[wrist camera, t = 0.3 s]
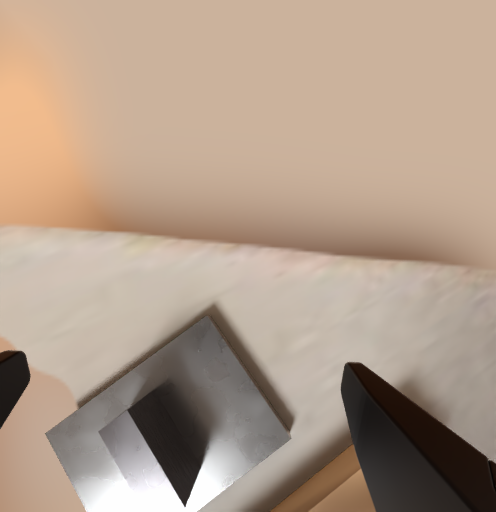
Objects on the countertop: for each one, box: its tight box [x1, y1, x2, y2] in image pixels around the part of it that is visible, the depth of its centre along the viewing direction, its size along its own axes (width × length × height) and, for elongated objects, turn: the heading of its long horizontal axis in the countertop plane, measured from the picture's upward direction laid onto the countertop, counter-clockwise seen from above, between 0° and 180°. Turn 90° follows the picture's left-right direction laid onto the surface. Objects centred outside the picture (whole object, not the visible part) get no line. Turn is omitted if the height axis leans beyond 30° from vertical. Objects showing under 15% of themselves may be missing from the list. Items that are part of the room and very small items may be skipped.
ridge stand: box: [45, 315, 291, 512], centre depth 19 cm, size 10×14×5 cm
